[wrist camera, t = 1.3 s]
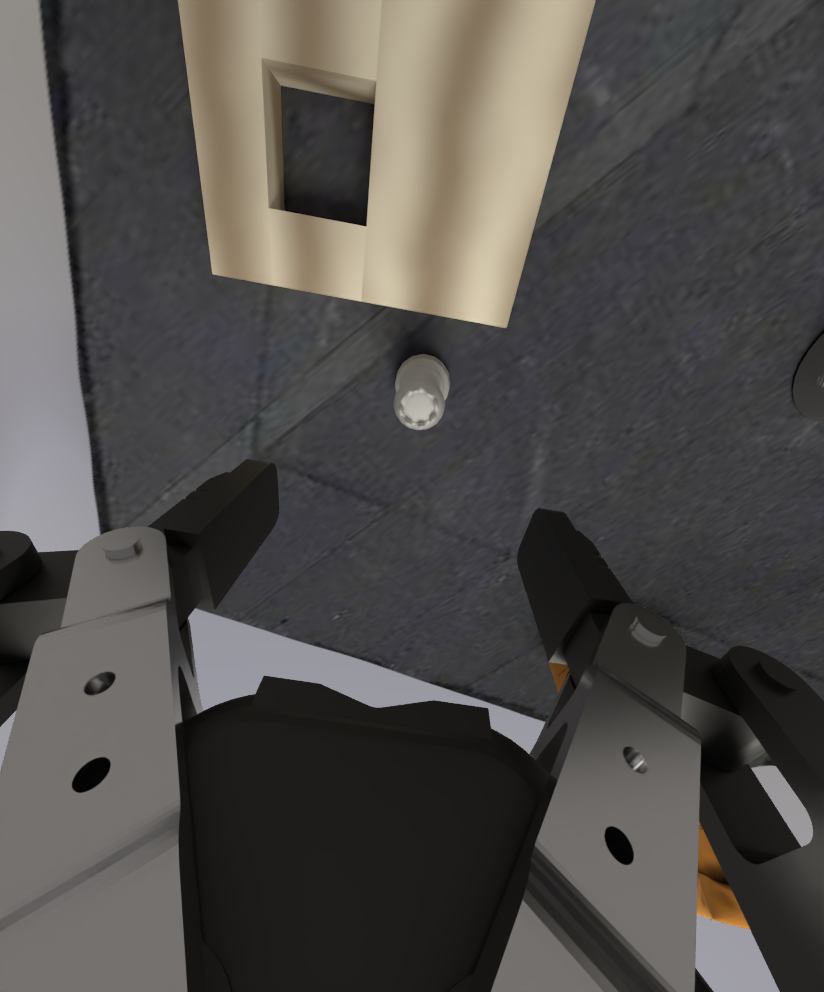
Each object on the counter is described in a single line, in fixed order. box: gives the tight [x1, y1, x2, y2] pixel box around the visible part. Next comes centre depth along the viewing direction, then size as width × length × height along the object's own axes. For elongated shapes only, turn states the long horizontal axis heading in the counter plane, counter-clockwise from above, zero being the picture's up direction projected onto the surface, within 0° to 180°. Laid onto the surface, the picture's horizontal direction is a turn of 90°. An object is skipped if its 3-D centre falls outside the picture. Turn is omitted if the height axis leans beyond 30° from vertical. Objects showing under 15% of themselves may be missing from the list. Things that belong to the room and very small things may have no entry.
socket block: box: [178, 0, 596, 328], centre depth 20 cm, size 20×14×2 cm
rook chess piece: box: [394, 354, 450, 430], centre depth 24 cm, size 4×4×8 cm
